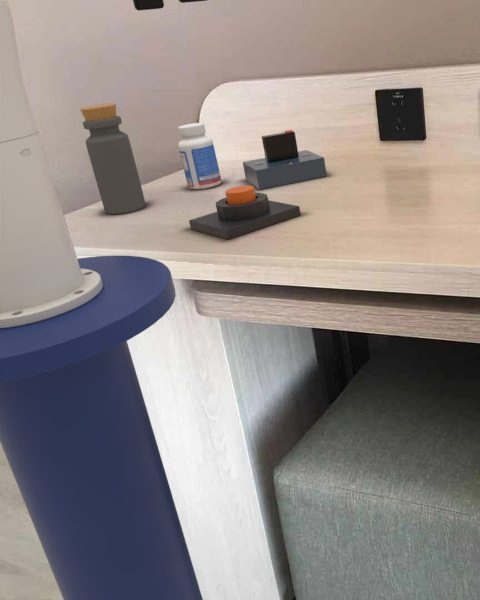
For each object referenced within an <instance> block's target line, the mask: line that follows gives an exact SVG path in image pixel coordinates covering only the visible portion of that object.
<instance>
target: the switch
mask: <svg viewBox="0 0 480 600" xmlns="http://www.w3.org/2000/svg"><path fill="white" fill-rule="evenodd" d="M224 193H225V198H227V203H228V204H241V203H247V202H250V201H254V200H256V196H255V193H256V191H255V186H254V185H239V186H233V187H231V188H228V189H226V190H225V191H224Z"/></svg>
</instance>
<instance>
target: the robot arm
mask: <svg viewBox="0 0 480 600" xmlns="http://www.w3.org/2000/svg"><path fill="white" fill-rule="evenodd" d="M205 1H207V2H208V0H178V2H180V4H181V3H182V4H185V3H197V2H205ZM132 2H133V7H134V9H135V10H136V11H146V10H147V11H151V10H159V9H163V8H164V7H165V2H164V0H132ZM24 82H25V81H24V77H23V74H22V69H21V64H20V58H19V51H18V45H17V37H16V31H15V25H14V20H13V16H12V12H11V8H10V4H9V2H8V0H0V329H4V328H11V327H17V326H23V325H27V324H31V323H36V322H39V321H43V320H46V319H50V318H53V317H56V316H58V315H61V314H64V313H66V312H69V311H71V310H73V309H76V308H78V307H80V306H82V305H83V304H85V303H87V302H89V301H90V300H92V299H93V298H94V297H95V296H97V295H98V294H99V292H100V291H101V289H102V288H103V283H102V280H101V277H100V275H99V274H98V273H97V272H95V271H92V270H88V269H80V266H79V262H78V256H77V253H76V250H75V246H74V243H73V240H72V237H71V234H70V231H69V227H68V224H67V221H66V218H65V214H64V210H63V207H62V205H61V202H60V198H59V195H58V191H57V189H56V186H55V182H54V178H53V176H52V172H51V169H50V166H49V162H48V159H47V156H46V153H45V150H44V146H43V144H42V143H43V142H42V139H41V136H40V133H39V130H38V127H37V125H36V122H35V118H34V115H33V111H32V108H31V105H30V101H29V97H28V94H27V91H26V90H27V89H26V86H25V83H24Z"/></svg>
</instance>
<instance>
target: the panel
mask: <svg viewBox="0 0 480 600" xmlns="http://www.w3.org/2000/svg"><path fill="white" fill-rule="evenodd" d="M298 155H299V157H297V158H292V159H287V160H281V161H276V162H271V163H268V162H266V158H265V157H262V158H255V159H251V160H245V161H242V167H243V171H244V176H245V181H247V182H248V183H249V184H251V186H253V187H254V188H256V189H258V190H260V191H261V190H265V189H270V188H274V187H275V188H276V187H280V186H286V185H289V184H290V185H291V184H295V183H300V182H306V181H310V180H316V179H321V178H325V177H327V175H328V174H327V168H326V161H325V157H324V156H321V155H319V154H317V153H315V152H312V151H310V150H308V149H305V150H300V151H299V150H298Z"/></svg>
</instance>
